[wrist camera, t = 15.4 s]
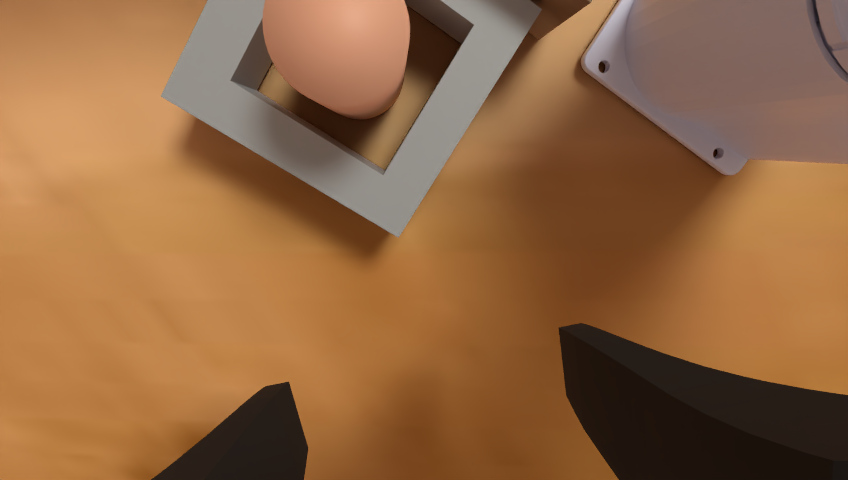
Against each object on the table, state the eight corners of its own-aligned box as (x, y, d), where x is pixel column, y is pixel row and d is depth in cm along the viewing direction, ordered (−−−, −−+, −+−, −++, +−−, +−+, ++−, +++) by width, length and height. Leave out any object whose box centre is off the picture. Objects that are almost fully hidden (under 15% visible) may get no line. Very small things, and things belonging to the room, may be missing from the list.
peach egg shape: (415, 103, 19) (428, 80, 12) (331, 131, 19) (295, 124, 12) (386, 9, 18) (382, -74, 11) (297, 38, 18) (238, -26, 11)
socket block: (518, 31, 18) (541, 9, 15) (397, 223, 20) (398, 237, 17) (313, -122, 16) (295, -179, 13) (198, 104, 18) (160, 96, 15)
